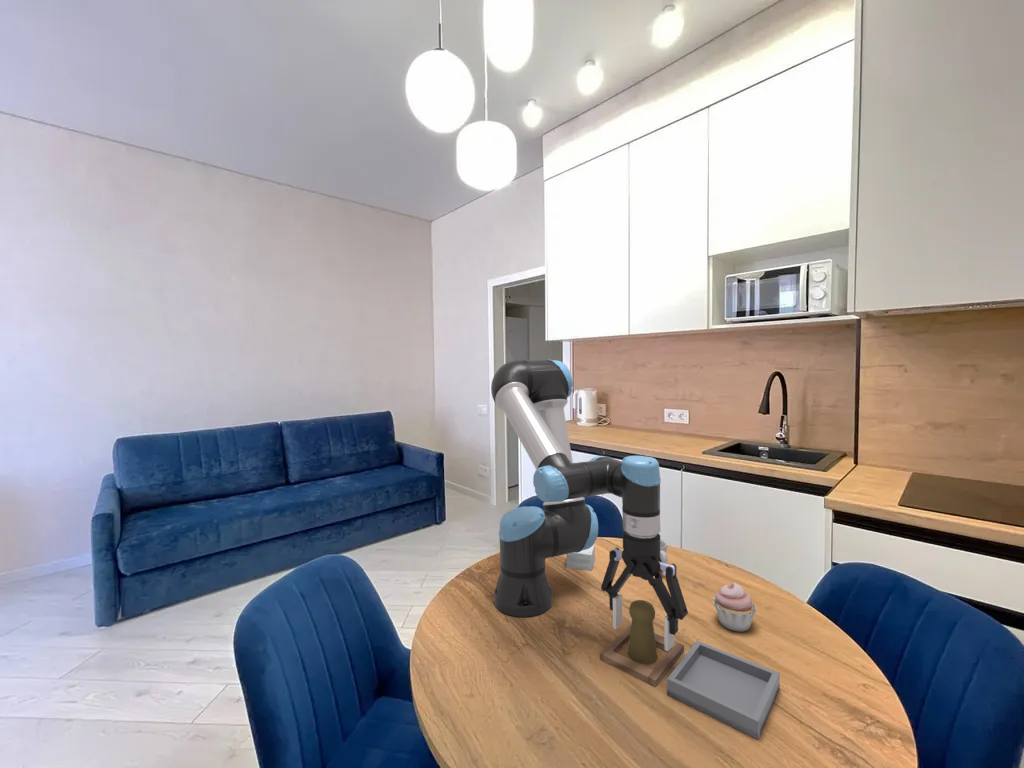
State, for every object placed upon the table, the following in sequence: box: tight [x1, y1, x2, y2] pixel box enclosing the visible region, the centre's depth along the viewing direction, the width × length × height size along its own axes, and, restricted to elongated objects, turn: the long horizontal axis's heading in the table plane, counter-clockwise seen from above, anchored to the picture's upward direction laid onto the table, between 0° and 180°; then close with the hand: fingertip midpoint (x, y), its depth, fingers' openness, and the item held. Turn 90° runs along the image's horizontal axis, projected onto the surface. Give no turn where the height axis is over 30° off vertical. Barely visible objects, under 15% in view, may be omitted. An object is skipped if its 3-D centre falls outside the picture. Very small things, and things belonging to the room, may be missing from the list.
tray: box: [666, 640, 781, 740], centre depth 81 cm, size 15×15×3 cm
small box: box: [565, 544, 596, 572], centre depth 136 cm, size 8×8×5 cm
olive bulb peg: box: [627, 599, 658, 666], centre depth 92 cm, size 6×6×11 cm
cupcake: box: [712, 581, 758, 633], centre depth 102 cm, size 9×9×10 cm
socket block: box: [599, 624, 685, 687], centre depth 92 cm, size 12×14×1 cm
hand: (642, 636), depth 92 cm, fingers open, 11 cm apart
